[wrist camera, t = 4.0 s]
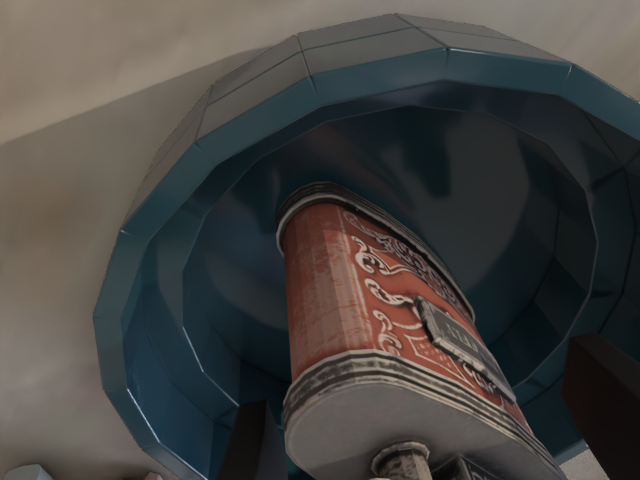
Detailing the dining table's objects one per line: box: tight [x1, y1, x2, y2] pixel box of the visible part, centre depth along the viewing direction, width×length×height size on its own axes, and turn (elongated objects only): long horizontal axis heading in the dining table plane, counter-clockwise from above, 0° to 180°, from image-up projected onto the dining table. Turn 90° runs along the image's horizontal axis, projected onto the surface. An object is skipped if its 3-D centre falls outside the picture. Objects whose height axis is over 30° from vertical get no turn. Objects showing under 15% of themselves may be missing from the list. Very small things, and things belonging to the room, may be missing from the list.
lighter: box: [276, 181, 568, 480], centre depth 12 cm, size 8×3×10 cm, turn 45°
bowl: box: [93, 13, 640, 480], centre depth 14 cm, size 15×15×4 cm
